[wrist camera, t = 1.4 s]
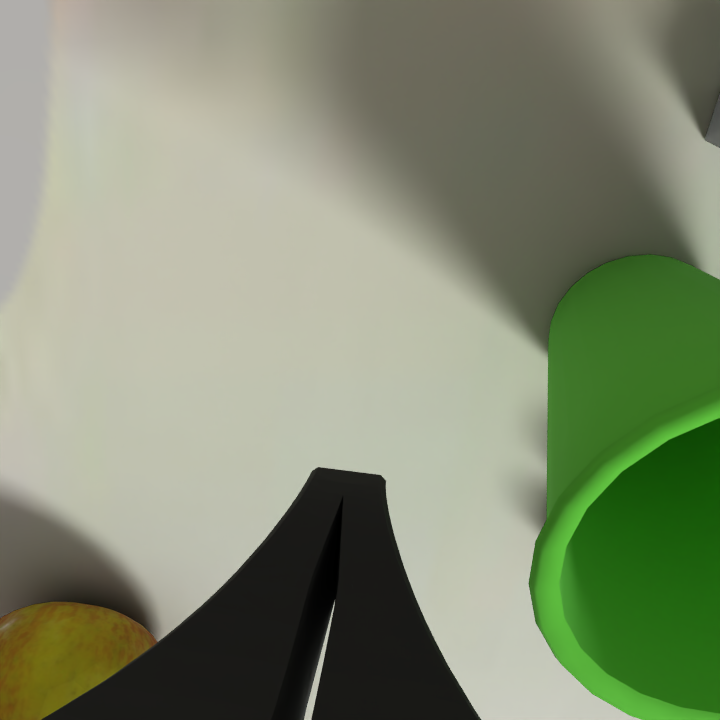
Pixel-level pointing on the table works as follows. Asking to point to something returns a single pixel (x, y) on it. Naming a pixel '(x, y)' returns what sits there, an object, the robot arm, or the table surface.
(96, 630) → the fruit
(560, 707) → the table surface
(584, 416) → the cup
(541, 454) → the table surface
